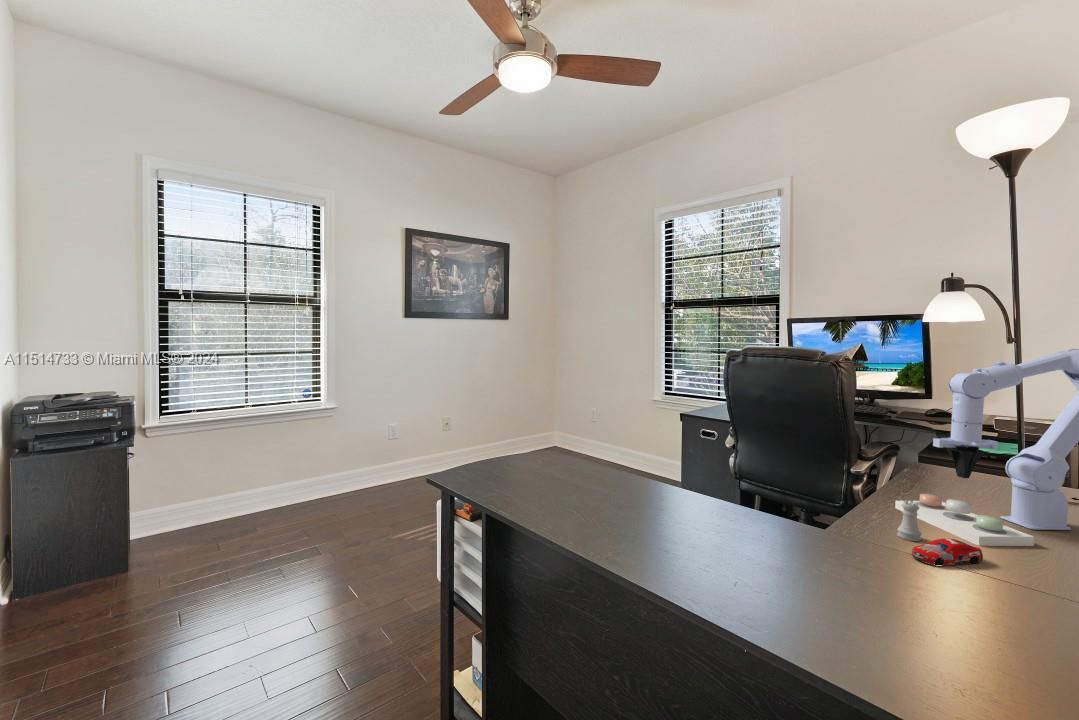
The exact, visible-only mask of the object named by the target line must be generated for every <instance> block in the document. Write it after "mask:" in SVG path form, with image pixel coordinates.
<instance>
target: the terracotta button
mask: <svg viewBox="0 0 1079 720" xmlns="http://www.w3.org/2000/svg"><path fill="white" fill-rule="evenodd" d="M919 501H920V503H921V504H923V505H927V506H932V507H941V506H942V502H943V497H941V496H939V495H937V494H936V495H935V494H930V493H920V494H919Z"/></svg>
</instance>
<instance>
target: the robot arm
mask: <svg viewBox="0 0 1079 720" xmlns="http://www.w3.org/2000/svg"><path fill="white" fill-rule="evenodd" d="M1056 371H1062V373H1063V374H1064V375H1065V376H1066V377H1067V379H1069V381H1070V382H1071V383H1072V384H1073V386H1075V388H1076V391H1077V392H1076V393H1075V395H1074V396H1073V397H1072V398H1071V400H1070V401H1069V402H1068V403H1067V405H1066V406H1065V407H1064V408H1063V410H1062V411H1060V413H1059V415H1058V416H1057V417H1056V419H1055V420H1054V421H1052V423H1051V425H1050V426H1049V427H1048V428H1047V429H1046V431H1044V433H1043V435H1042V436H1041V437H1040V439H1039V440H1038V441H1037V442H1036V443H1035V444H1034V445H1032V446H1029V447H1026V448H1023V449H1022V450H1020V452H1018V454H1017V455H1014V456H1012V457H1011V458H1009V460H1007V461H1006V464H1005V473H1006V474H1007V476H1008V477H1010V479H1011V481H1010V482H1011V483H1012V485H1011V504H1010V505H1011V507H1010V515H1000V516H999V517H1000V518H999V519H1001V520H1005V521H1008V522H1010V523H1014V524H1015V525H1019V526H1022V527H1024V528H1027V529H1030V530H1036V531H1037V530H1047V531H1049V530H1050V531H1052V530H1054V531H1056V530H1057V531H1059V530H1060V531H1070V530H1071V529H1072V528H1071V527H1070V526H1067V525H1068V507H1069V502H1068V498H1067V496H1066V494H1065V493H1064V492H1063V491H1061V490H1060V488H1061V487H1062V486H1063V485H1064V484H1065V480H1066V474H1067V472H1068V471H1069V470H1070V468H1071V467H1070V465H1069V463H1068V462H1067V460H1066V458H1067V456H1068V455H1069V453H1071V451H1072V450H1073V449H1074V447H1075V446H1076V445H1077V444H1078V443H1079V348H1070V349H1067V350H1058V351H1056V352H1053V353H1050V354H1047V355H1044V356H1041V357H1038V358H1034V359H1031V360H1028V361H1025V362H1021V363H1019V364H1014V363H1012V362H1009V361H1007V362H1005V361H996V362H994V365H992V366H986V367H984V368H979V367H977V368H974V369H973V370H972V372H960V373H956V374H955V375H954V376H953V377H952V378H951V379H950V382H948V383H947V387H948V390H949V391H950V393H951V395H952V408H951V424H950V425H951V426H950V437H941V438H938V437H937V438H936V437H935V438H934V437H933V439H932V440H933V442H932V446H933V447H936V448H940V449H943V448H946V451H947V452H948V455H950V457H951V459H952V463H953V465H954V468H955V473H956V476H957V477H958V478H962V479H970V477H971V474H972V472H973V470H974V468H975V466H976V464H977V463H978V461H980V459H981V458H982V457H983V456H984V455H985V454H984V453H985V451H984V450H982V449H985V450H986V449H987V450H998V449H999V448H998V447H999V441H996V440H991V439H982V437H983V435H982V434H983V422H984V421H983V420H984V408H985V407H984V406H985V397H987V396H989V394H990V393H993V392H995V391H999V390H1003V389H1007V388H1011V387H1015V386H1018V385H1020V384H1021V383H1022V381H1023V379H1024V378H1028V377H1034V376H1038V375H1041V374H1042V375H1043V374H1046V373H1050V372H1056Z"/></svg>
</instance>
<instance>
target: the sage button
mask: <svg viewBox="0 0 1079 720" xmlns="http://www.w3.org/2000/svg"><path fill="white" fill-rule="evenodd" d="M977 515H978V514H977ZM1003 525H1004V519H1002V518H999V517H997V516H990V515H986V514H985V515H984V514H983V515H982V514H979V515H978V516H977V518H976V526H978V527H980V528H982V529H986V530H990V531H1003Z"/></svg>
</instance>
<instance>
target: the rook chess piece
mask: <svg viewBox="0 0 1079 720" xmlns="http://www.w3.org/2000/svg"><path fill="white" fill-rule="evenodd" d="M902 501H903V504H902V505H901V506H902V507H903V509H904V510H903V512H902V511H901V512H902V519H901V523H900V524H899V526H898V528H897V531H898V532H897V533H896V535H897V536H898V538H899V539H901V540H905V541H908V542H918V543H919V542H920V541H921V540H923V538H922V531H920V528H919V525H918V518H917V515H918V514H917V510H918V509H919V506H918V503H917V502H914V503H913V501H914V500H902ZM908 501H910V503H908Z"/></svg>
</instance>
